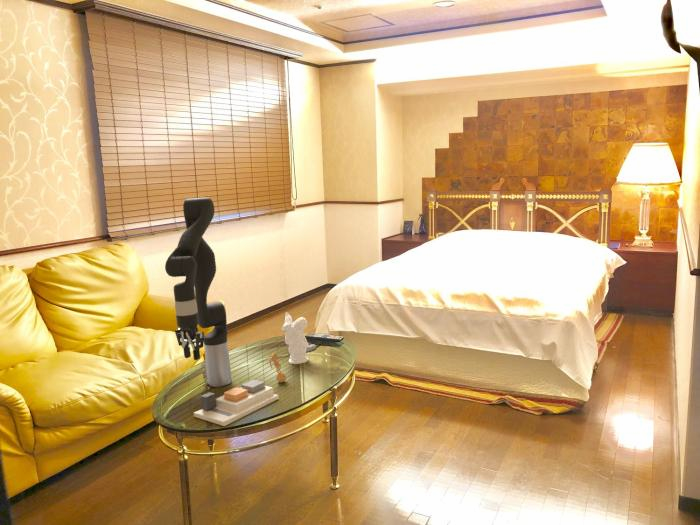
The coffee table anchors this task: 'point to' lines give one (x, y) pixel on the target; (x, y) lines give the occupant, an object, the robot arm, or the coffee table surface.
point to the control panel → (236, 407)
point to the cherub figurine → (296, 339)
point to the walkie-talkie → (310, 348)
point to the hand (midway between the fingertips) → (192, 358)
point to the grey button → (253, 386)
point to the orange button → (235, 394)
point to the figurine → (278, 368)
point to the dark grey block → (208, 401)
